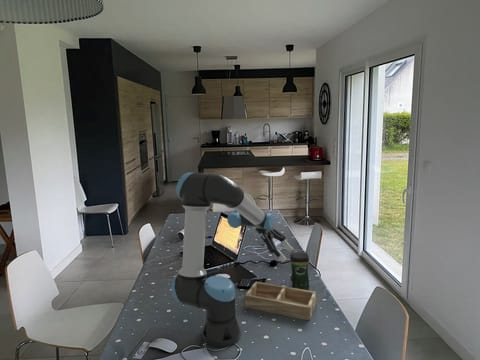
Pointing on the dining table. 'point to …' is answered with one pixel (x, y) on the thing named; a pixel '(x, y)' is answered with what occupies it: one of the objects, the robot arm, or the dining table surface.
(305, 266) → the coffee jar
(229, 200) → the robot arm
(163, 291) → the dining table surface
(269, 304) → the jar crate
